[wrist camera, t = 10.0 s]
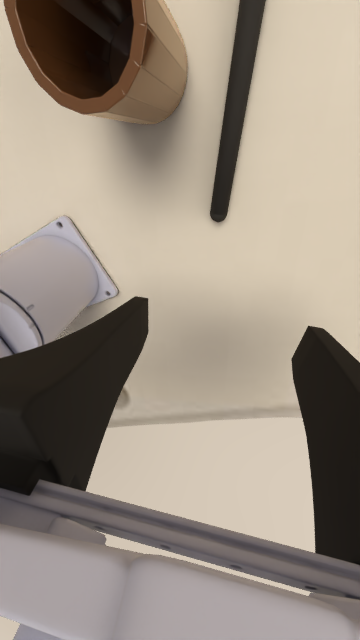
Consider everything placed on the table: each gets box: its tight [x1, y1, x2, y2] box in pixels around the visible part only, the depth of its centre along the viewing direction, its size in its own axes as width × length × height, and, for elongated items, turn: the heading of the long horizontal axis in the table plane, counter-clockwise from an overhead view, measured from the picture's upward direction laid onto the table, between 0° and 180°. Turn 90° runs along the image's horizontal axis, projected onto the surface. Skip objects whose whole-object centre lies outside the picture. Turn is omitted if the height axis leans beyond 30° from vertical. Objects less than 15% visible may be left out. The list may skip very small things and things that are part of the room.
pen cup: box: [4, 0, 188, 124], centre depth 11 cm, size 5×5×8 cm
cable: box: [210, 0, 266, 222], centre depth 12 cm, size 19×2×1 cm, turn 175°
